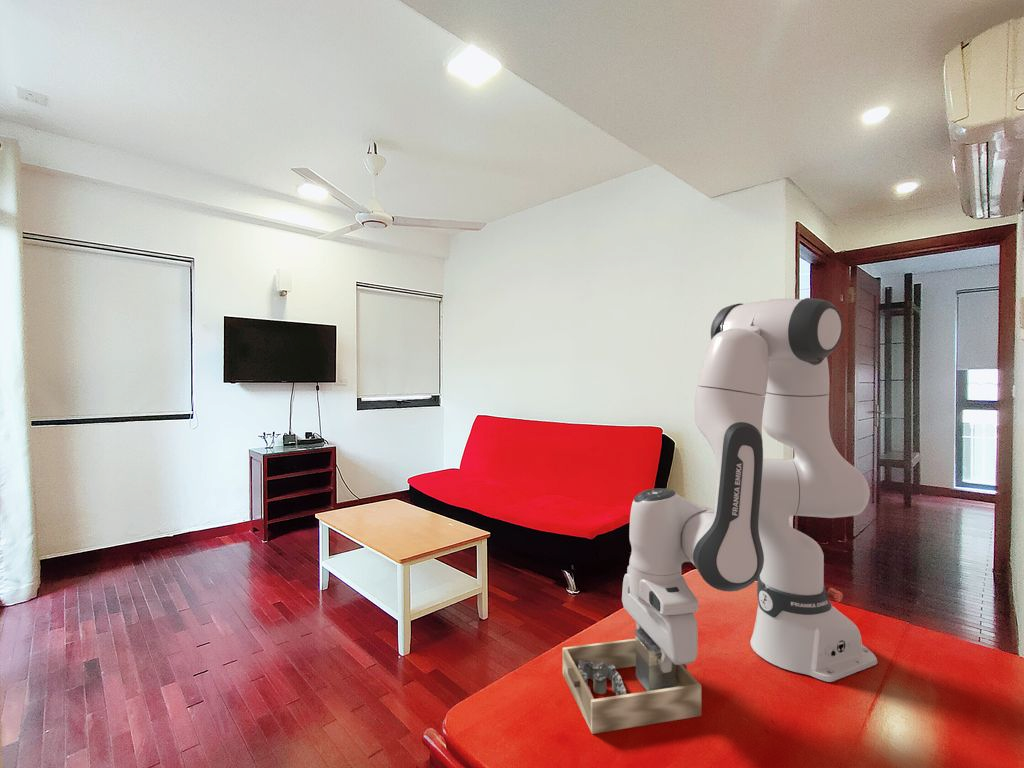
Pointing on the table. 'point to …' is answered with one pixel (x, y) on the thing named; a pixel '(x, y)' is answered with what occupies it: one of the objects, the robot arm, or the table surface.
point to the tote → (629, 706)
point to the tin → (651, 664)
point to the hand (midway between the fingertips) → (654, 658)
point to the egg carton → (601, 677)
